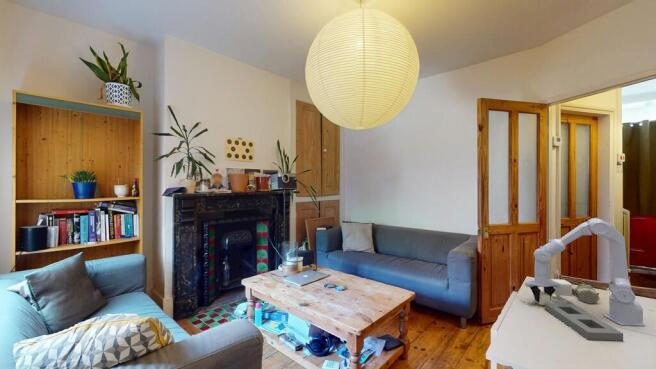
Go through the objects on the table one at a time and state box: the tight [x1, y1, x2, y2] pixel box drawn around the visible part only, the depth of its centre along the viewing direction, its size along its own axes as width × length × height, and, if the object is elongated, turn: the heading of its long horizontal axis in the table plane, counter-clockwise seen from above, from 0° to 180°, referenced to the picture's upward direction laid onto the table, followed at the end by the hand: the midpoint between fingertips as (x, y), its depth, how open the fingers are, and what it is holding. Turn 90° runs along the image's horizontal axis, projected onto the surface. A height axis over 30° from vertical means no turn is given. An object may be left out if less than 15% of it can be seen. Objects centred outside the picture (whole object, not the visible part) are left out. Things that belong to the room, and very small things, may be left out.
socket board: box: [544, 302, 624, 342], centre depth 114 cm, size 12×24×3 cm, turn 174°
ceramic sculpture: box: [572, 282, 600, 304], centre depth 136 cm, size 11×9×15 cm
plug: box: [533, 290, 551, 306], centre depth 131 cm, size 4×5×6 cm
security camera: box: [549, 278, 573, 304], centre depth 134 cm, size 6×7×10 cm
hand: (542, 301), depth 131 cm, fingers closed on plug, 4 cm apart
